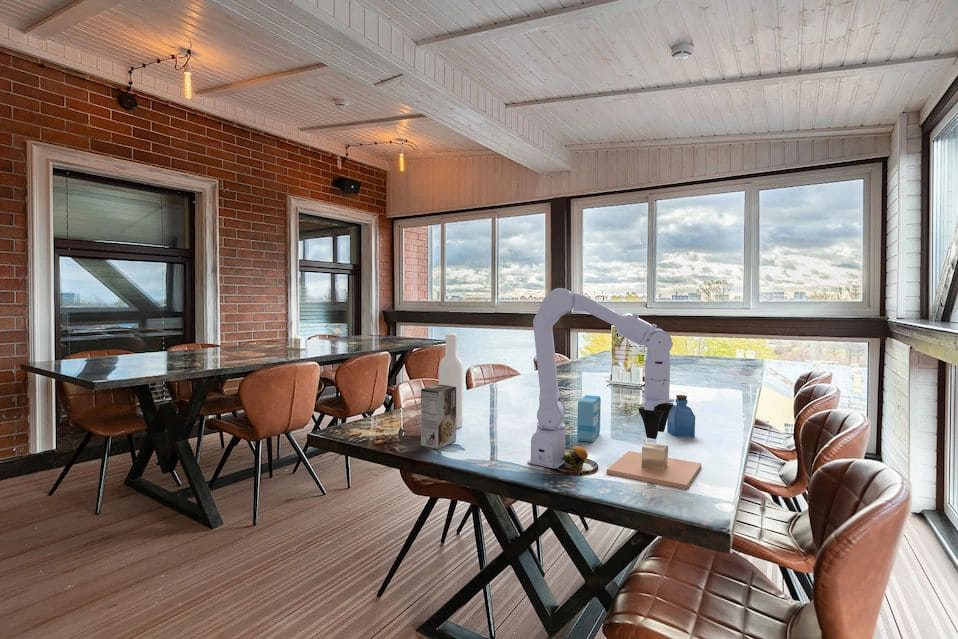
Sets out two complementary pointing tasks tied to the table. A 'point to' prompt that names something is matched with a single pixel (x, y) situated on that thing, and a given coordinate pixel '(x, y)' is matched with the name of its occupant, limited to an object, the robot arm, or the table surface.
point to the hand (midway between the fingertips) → (655, 434)
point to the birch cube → (655, 456)
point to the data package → (588, 418)
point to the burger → (578, 462)
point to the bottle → (453, 374)
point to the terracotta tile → (656, 471)
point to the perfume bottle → (681, 419)
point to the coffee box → (438, 416)
